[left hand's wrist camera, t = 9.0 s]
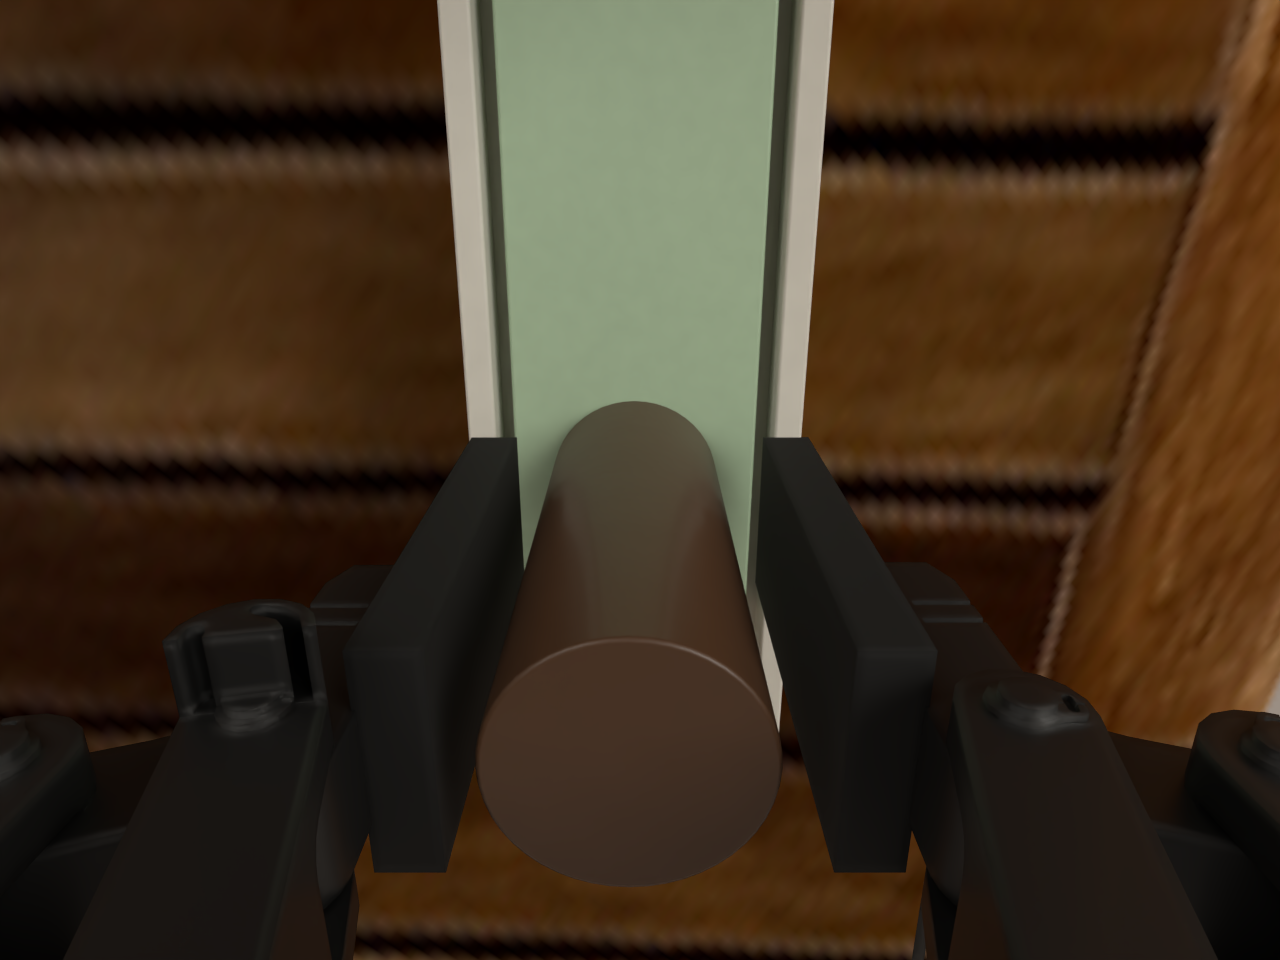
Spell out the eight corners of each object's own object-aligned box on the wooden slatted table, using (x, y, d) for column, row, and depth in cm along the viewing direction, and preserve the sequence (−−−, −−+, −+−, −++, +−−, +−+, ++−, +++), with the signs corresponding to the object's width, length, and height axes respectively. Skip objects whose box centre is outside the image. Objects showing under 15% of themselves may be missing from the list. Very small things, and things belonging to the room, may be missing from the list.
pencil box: (743, 638, 24) (775, 788, 18) (528, 637, 24) (493, 787, 18) (807, -530, 15) (907, -945, 9) (469, -533, 15) (366, -945, 9)
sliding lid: (740, 600, 17) (829, 994, 9) (528, 599, 17) (428, 992, 9) (794, -415, 12) (1153, -1746, 4) (478, -415, 12) (100, -1751, 4)
